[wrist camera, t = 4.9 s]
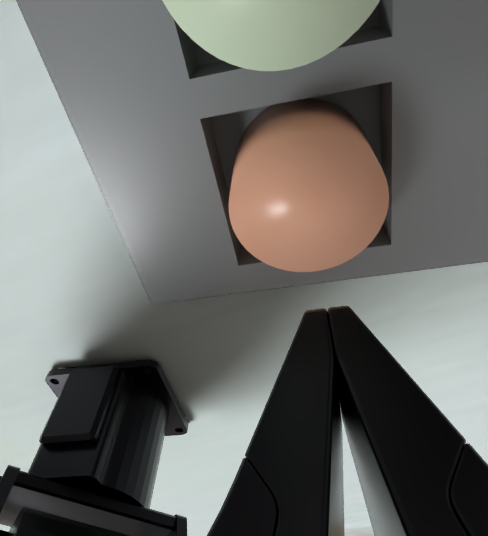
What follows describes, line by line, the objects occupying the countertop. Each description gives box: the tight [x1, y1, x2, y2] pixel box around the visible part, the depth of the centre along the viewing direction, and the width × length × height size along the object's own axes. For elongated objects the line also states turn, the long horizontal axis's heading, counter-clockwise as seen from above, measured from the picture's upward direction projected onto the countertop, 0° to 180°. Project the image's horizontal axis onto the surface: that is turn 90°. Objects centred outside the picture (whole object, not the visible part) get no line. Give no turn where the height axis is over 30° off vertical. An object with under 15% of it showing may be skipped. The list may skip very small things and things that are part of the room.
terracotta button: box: [229, 98, 389, 272], centre depth 14 cm, size 5×5×3 cm
